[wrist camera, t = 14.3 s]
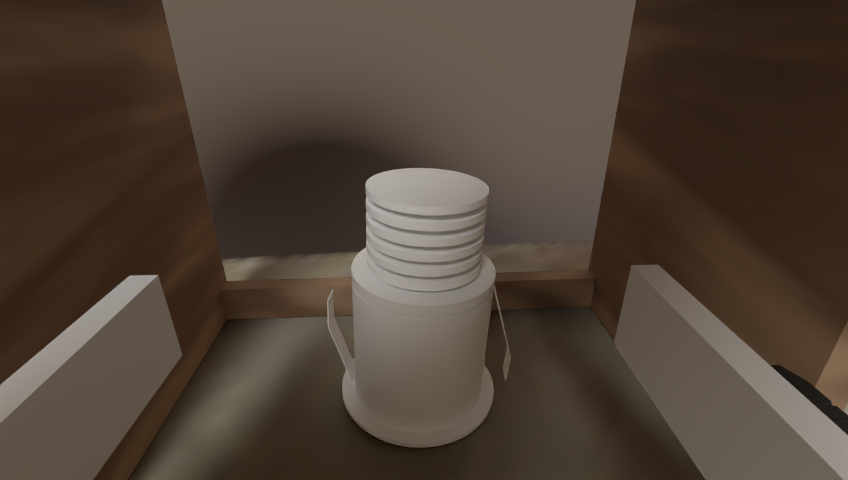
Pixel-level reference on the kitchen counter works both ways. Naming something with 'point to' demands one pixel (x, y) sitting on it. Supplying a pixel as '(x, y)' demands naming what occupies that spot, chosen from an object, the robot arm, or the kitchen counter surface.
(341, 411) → the kitchen counter surface
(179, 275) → the counter shelf
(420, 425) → the downlight
